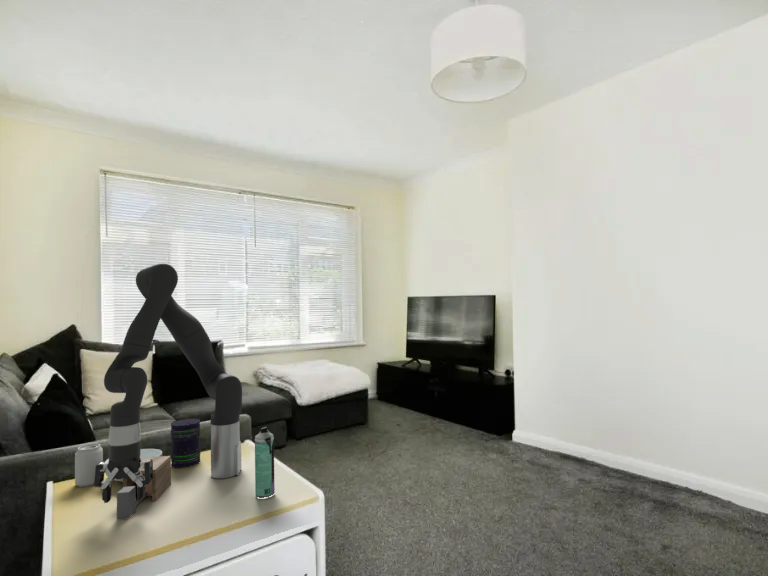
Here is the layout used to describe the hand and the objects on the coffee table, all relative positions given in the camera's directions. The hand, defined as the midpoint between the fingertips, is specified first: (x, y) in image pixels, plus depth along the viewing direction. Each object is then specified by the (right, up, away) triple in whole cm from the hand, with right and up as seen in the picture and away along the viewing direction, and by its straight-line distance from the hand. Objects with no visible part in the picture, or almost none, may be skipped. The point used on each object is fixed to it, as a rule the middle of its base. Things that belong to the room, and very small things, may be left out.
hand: (123, 500), depth 118 cm
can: (-25, -6, +23) cm, 34 cm away
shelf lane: (-1, -5, +14) cm, 15 cm away
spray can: (+36, -4, +10) cm, 37 cm away
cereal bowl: (-13, -6, +26) cm, 30 cm away
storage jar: (-1, -6, +39) cm, 39 cm away
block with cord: (0, -4, +8) cm, 9 cm away
